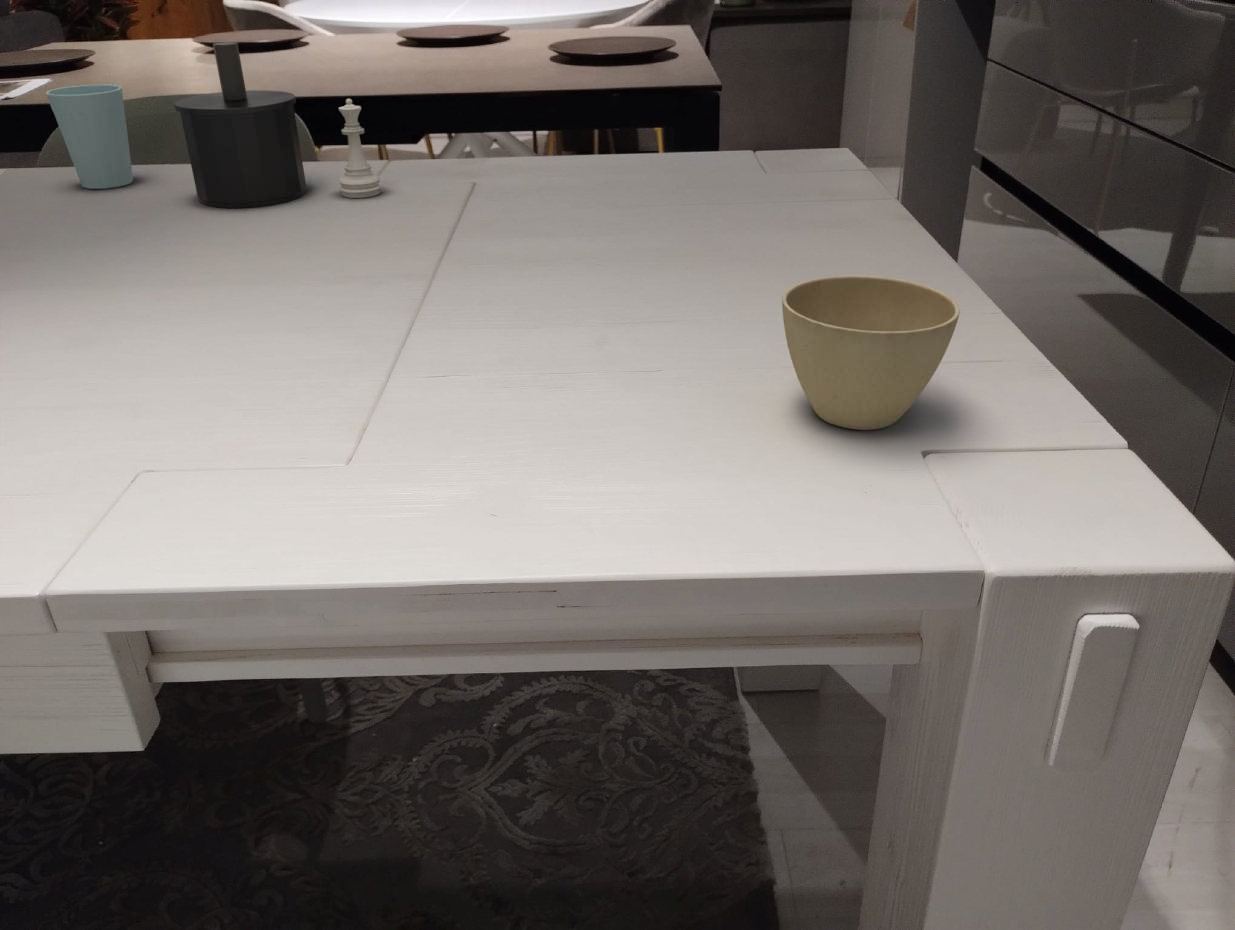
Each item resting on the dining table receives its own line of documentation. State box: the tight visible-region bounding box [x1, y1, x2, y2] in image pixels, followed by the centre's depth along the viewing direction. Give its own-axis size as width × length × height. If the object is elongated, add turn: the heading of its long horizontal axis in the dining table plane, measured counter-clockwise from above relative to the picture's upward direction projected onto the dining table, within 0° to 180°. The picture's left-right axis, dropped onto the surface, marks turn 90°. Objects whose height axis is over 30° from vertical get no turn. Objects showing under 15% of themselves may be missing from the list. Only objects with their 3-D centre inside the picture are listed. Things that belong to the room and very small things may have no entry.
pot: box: [179, 104, 307, 209], centre depth 110 cm, size 11×11×10 cm
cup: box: [45, 84, 134, 190], centre depth 115 cm, size 8×8×10 cm
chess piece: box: [338, 98, 382, 199], centre depth 110 cm, size 4×4×10 cm
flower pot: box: [781, 274, 961, 431], centre depth 60 cm, size 10×10×7 cm
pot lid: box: [173, 41, 297, 115], centre depth 106 cm, size 12×12×7 cm
